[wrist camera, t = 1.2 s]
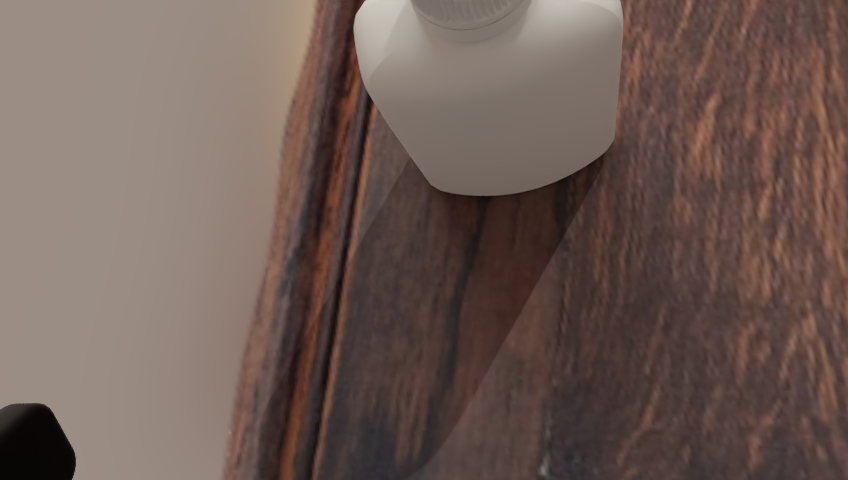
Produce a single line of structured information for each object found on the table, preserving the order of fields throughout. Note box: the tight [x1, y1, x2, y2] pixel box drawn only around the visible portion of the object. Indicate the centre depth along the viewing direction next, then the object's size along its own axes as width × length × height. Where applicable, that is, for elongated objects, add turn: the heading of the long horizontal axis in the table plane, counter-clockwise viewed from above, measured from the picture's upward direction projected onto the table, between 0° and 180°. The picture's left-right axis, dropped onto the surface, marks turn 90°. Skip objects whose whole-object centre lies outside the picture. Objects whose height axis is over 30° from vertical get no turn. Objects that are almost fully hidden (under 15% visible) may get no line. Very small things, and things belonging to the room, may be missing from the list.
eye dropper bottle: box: [354, 0, 623, 196], centre depth 17 cm, size 4×6×12 cm
